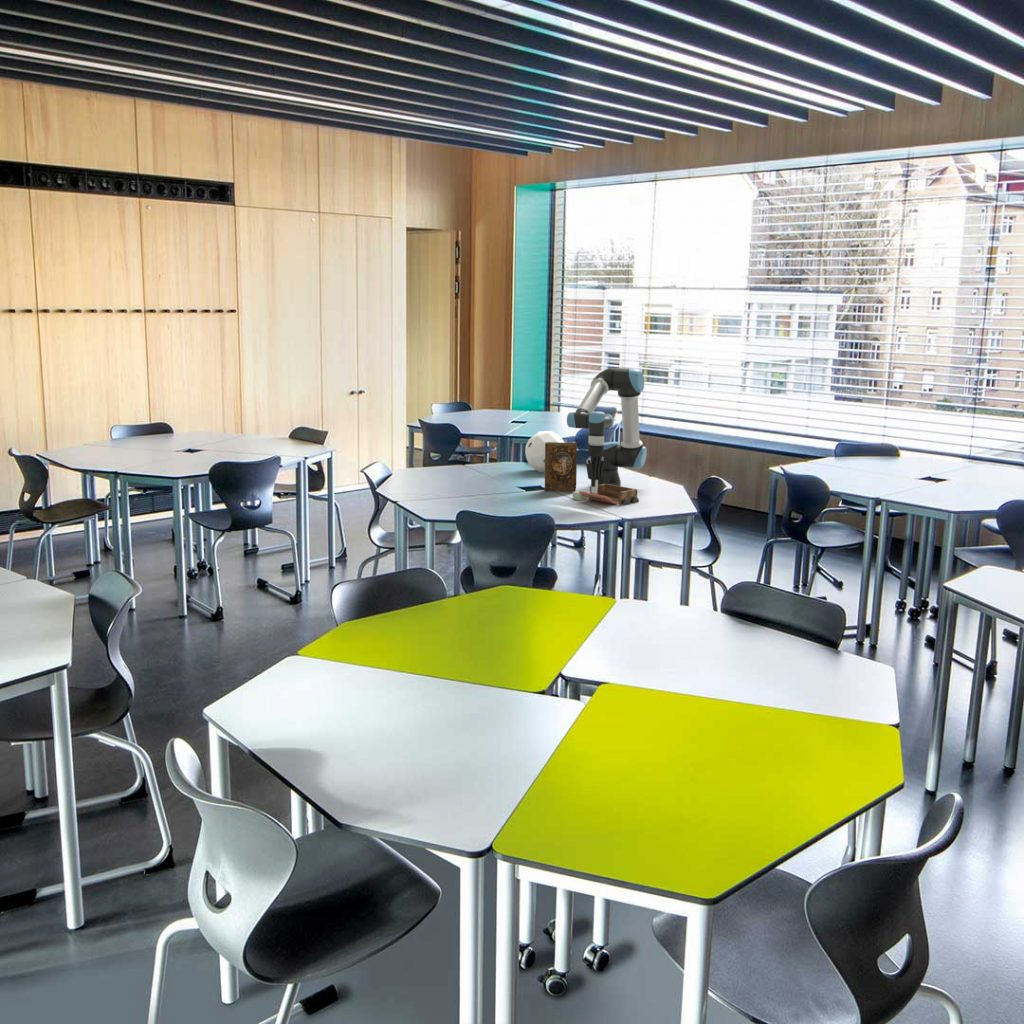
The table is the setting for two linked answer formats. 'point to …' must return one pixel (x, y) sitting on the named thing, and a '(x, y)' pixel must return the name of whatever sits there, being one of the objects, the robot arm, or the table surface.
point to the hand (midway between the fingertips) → (594, 493)
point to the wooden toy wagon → (618, 493)
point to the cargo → (578, 496)
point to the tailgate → (598, 497)
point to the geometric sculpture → (539, 448)
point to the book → (560, 467)
